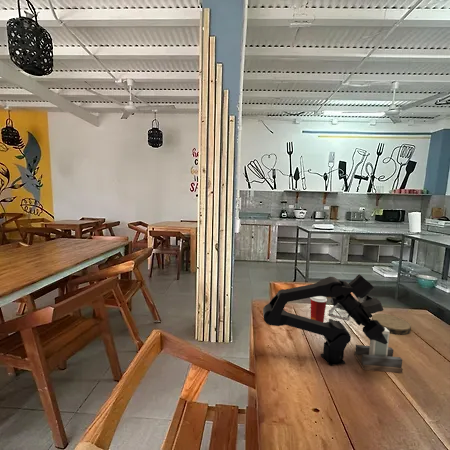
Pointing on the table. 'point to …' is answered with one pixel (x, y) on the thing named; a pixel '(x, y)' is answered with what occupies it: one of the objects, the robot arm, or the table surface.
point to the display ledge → (378, 360)
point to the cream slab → (380, 345)
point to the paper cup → (318, 308)
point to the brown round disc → (393, 323)
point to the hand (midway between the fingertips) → (380, 336)
